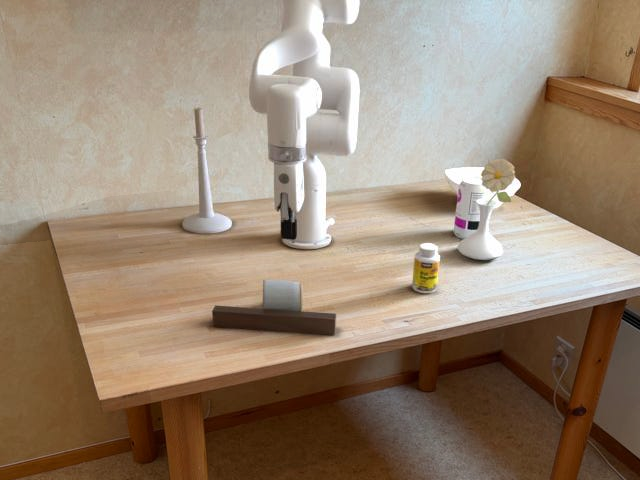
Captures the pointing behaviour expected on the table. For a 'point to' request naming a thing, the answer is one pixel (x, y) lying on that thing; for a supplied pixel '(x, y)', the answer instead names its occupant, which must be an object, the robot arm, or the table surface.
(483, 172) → the flower in vase
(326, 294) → the table surface
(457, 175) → the bowl
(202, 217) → the candlestick
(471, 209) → the supplement can
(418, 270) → the supplement bottle
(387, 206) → the table surface
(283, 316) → the board
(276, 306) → the ceramic mug
